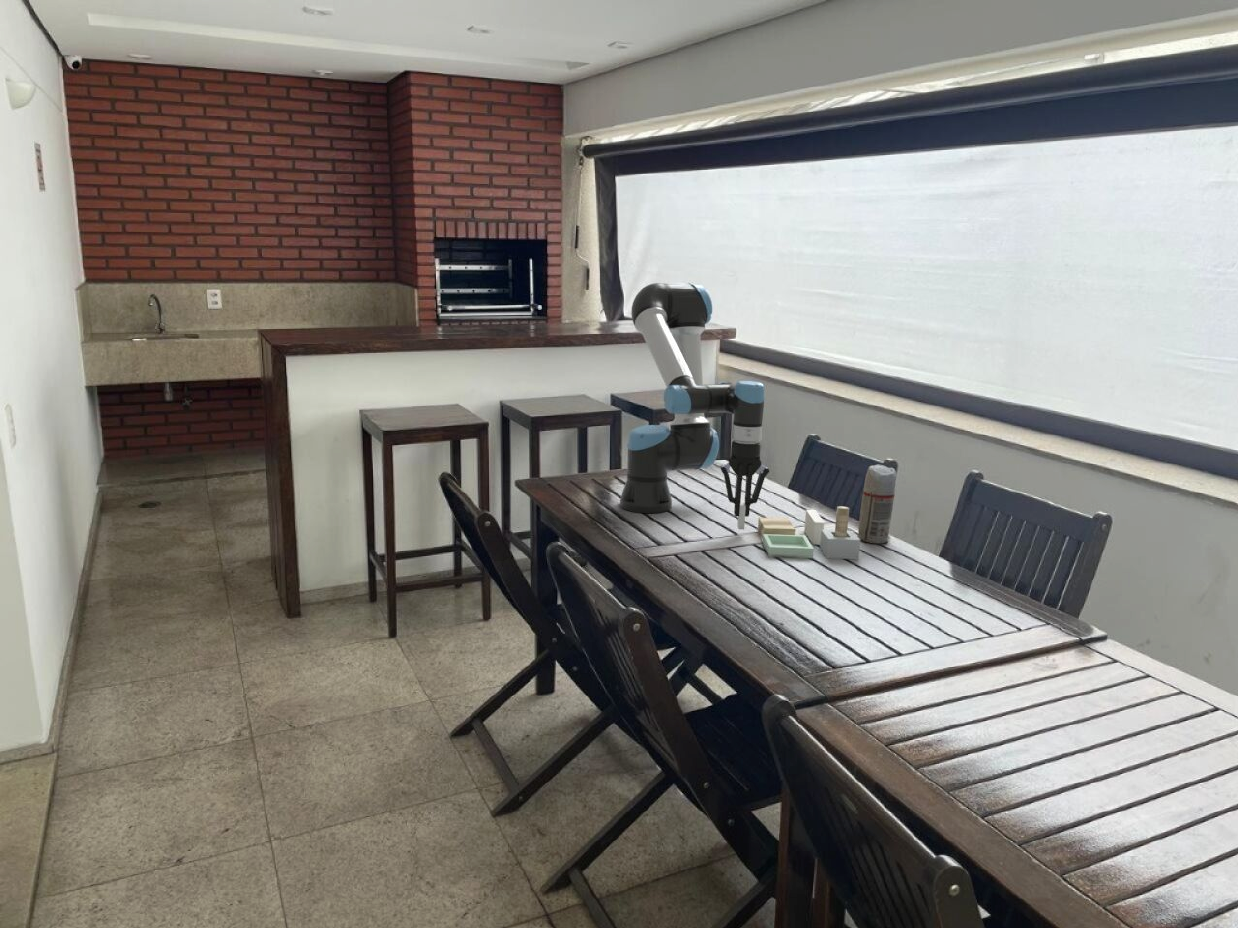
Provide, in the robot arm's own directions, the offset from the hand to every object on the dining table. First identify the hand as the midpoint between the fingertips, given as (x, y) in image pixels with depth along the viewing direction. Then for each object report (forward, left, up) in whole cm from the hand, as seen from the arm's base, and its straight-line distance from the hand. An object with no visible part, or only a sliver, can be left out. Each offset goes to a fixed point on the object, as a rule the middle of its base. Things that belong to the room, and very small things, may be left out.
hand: (740, 527), depth 257 cm
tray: (+12, +10, -2) cm, 16 cm away
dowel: (+13, +23, -2) cm, 27 cm away
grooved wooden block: (0, +9, -2) cm, 10 cm away
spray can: (0, +35, -2) cm, 36 cm away
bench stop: (0, +19, -2) cm, 20 cm away
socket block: (+13, +23, -2) cm, 27 cm away
